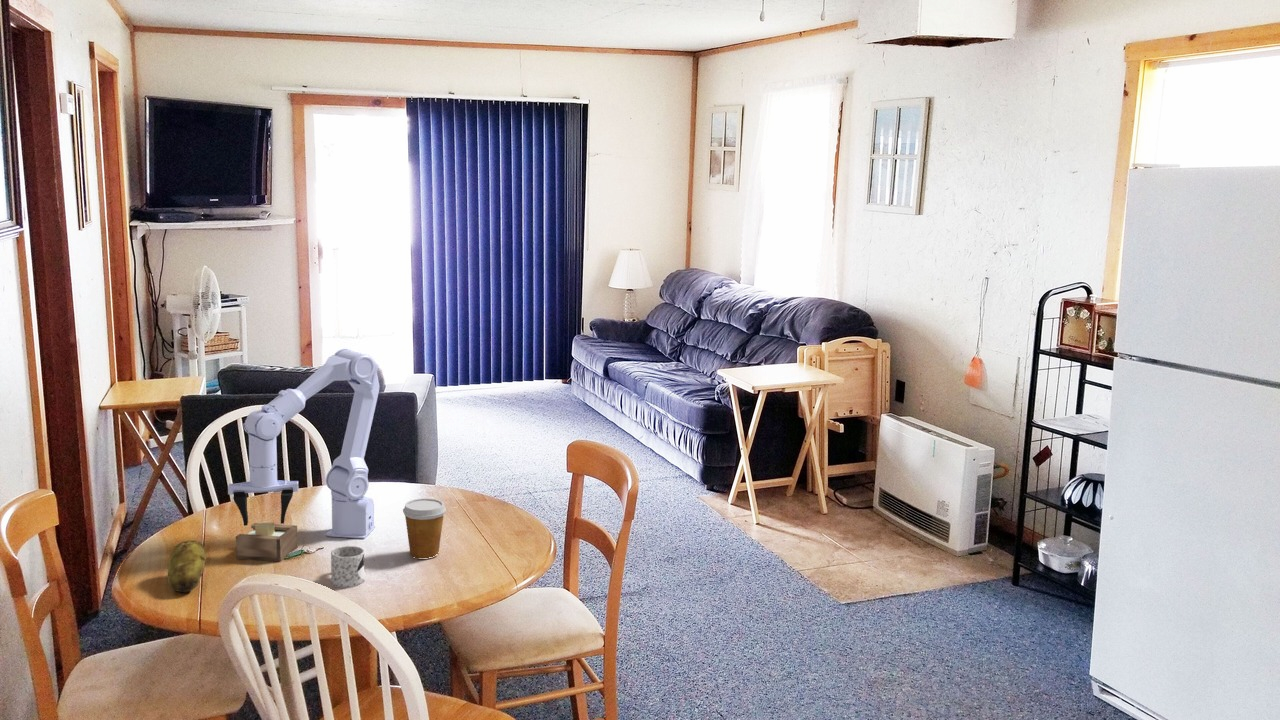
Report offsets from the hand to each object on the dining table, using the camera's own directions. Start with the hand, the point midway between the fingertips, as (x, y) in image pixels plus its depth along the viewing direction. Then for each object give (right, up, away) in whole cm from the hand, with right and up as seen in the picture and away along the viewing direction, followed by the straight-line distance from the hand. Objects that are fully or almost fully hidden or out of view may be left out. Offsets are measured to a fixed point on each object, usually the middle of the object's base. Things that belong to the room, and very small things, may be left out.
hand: (264, 523), depth 216 cm
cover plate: (0, -4, +1) cm, 4 cm away
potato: (-9, -10, -17) cm, 22 cm away
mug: (+22, -10, -11) cm, 27 cm away
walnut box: (0, -7, +1) cm, 7 cm away
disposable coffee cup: (+35, -8, +4) cm, 36 cm away
